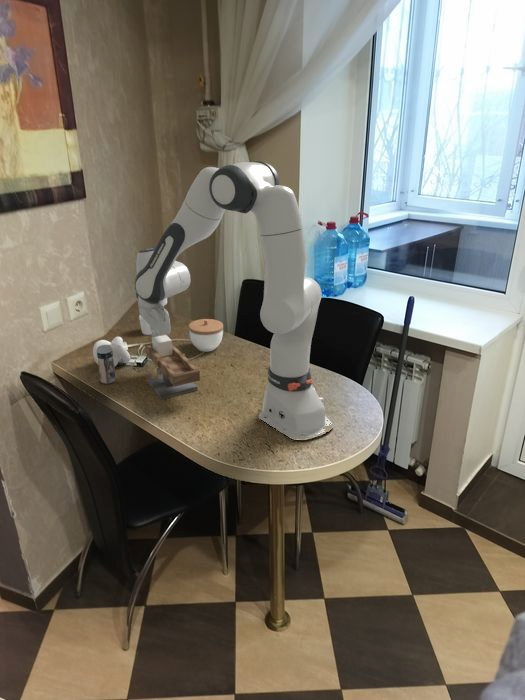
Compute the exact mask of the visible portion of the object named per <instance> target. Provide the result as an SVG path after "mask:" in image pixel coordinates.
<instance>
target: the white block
mask: <svg viewBox="0 0 525 700" xmlns="http://www.w3.org/2000/svg"><path fill="white" fill-rule="evenodd" d="M151 341H152V345H153V349H154V350H155V351H156V352H157V353H158V355H159V356H160V357H163V356H168V355H173V352H172V344H173V340H172V339H171V338H170V337H169V335H168V334H167V335H162V336H161V335H160V336H157V337H151Z"/></svg>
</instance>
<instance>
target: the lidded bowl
mask: <svg viewBox="0 0 525 700" xmlns="http://www.w3.org/2000/svg"><path fill="white" fill-rule="evenodd" d="M188 331H189V333H188V334H189V338H190V341H191V344H192V345H193V346H194V347H195V348H196V349H197V350H198V351H200V352H205V353H206V352H213V351H215V350H216V349H217V348H218V346H219V345H220V344H221V342H222V341H223V335H224V324H223V322H222V321H220V320H218V319H217V320H216V319H212V318H210V319H209V318H202V319H201V318H200V319H196V320H193V321H191V322H190V323H189V324H188Z"/></svg>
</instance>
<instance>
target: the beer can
mask: <svg viewBox="0 0 525 700" xmlns="http://www.w3.org/2000/svg"><path fill="white" fill-rule="evenodd" d="M97 357H98V364H97V365H98V373H99V378H100V379H99V381H100V382H101V383H102V384H105V385H108V384H112V383H114V382H115V381H116V370H115V367H114V360H113V352H112V348H111V347H110V346H109V345H101V346H99V347H98V348H97Z"/></svg>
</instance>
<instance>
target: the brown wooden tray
mask: <svg viewBox="0 0 525 700" xmlns="http://www.w3.org/2000/svg"><path fill="white" fill-rule="evenodd" d="M144 346H145V347H144V349H145V354H146V355H147V356H148V358H149V359H150V360H151V361H152V362H153V364H154V365H155V366H156V367H157V368H156V372H157V375H161V376H155V377H153V378H148V379H147V382H148V384H149V385H150V387H151V388H152V389H153V391H154V392H155V393H156V395H157V396H158V397H159V398H160V400H164V399H168V398H172V397H176V396H180V395H184V394H188V393H191V392H196V391H198V390H199V389H198V385H196V384H195V382H199V381H201V378H200V377H201V376H200V375H201V374H200V369H198V367H196V366H195V365H194V364H193V363H192V362H191V360H189V359H188V358H187V357H186V354H185V353H183V352H181V351H180V350H179V349H178V348H177V346H175V344H173V343H172V352H173V355H168V356H163V357H160V356H159V355H158V353H157V352H156V351H155V350H154V349H153V345H152V343H151V342H150V343H147V344H145V345H144Z"/></svg>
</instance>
